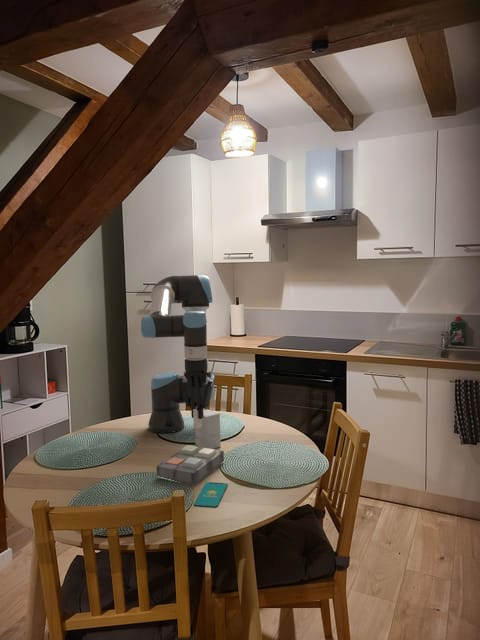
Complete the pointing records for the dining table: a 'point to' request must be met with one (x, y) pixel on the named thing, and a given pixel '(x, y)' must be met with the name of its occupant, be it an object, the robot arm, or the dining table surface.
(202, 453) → the key ivory
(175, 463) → the key terracotta
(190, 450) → the key sage
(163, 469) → the keypad
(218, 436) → the small box
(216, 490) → the smartphone
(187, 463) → the key blue
